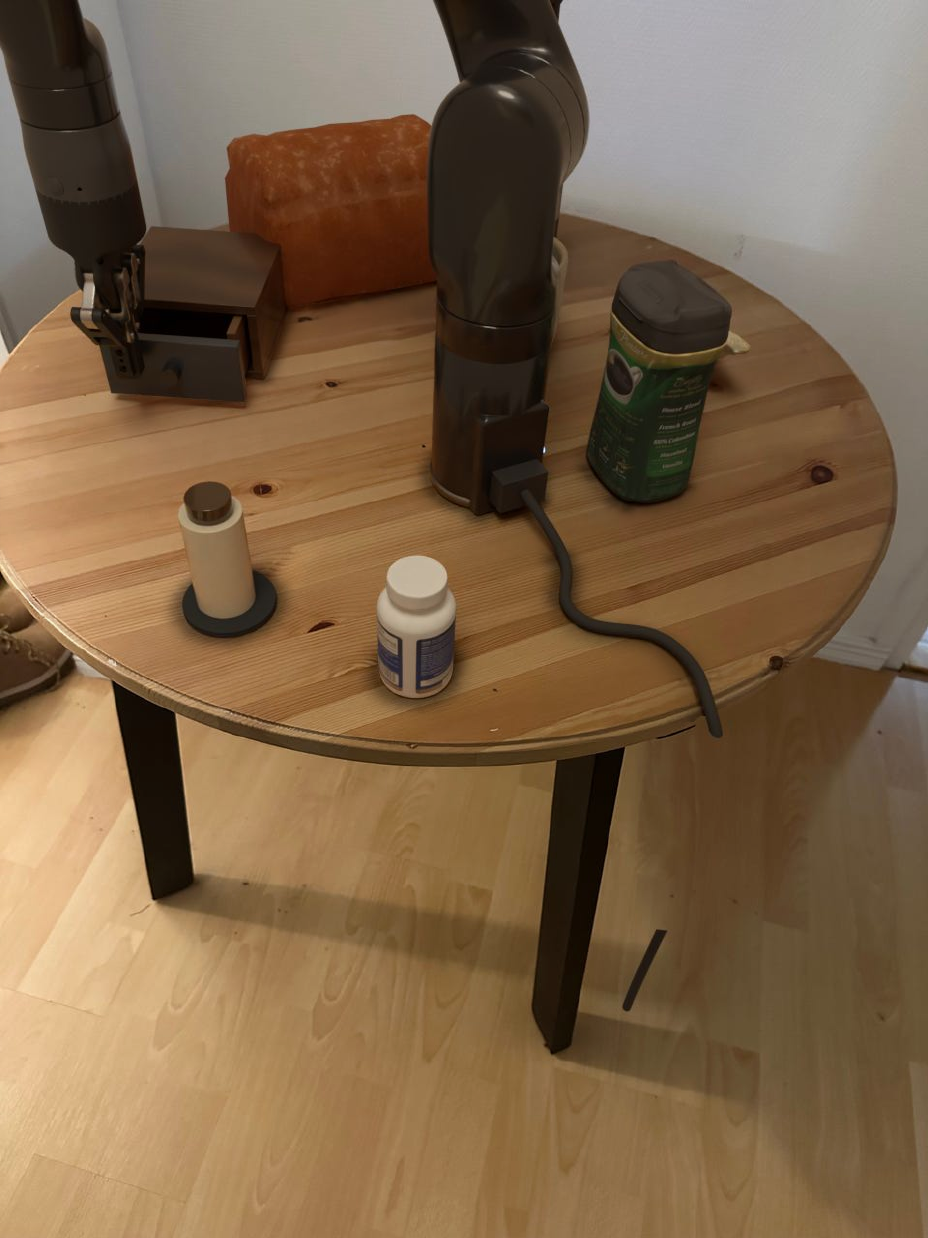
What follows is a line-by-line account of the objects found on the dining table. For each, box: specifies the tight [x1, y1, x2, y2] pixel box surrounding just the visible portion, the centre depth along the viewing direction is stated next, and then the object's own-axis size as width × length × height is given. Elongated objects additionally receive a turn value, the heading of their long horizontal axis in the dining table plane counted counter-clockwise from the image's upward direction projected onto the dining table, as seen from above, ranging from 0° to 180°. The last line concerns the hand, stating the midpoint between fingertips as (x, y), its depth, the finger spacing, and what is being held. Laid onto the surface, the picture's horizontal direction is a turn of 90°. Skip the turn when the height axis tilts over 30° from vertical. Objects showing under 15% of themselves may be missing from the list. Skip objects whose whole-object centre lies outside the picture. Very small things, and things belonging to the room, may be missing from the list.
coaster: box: [181, 569, 278, 639], centre depth 72 cm, size 7×7×1 cm
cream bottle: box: [177, 480, 256, 619], centre depth 69 cm, size 4×4×10 cm
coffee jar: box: [586, 259, 733, 503], centre depth 80 cm, size 10×8×19 cm
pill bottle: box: [376, 555, 457, 699], centre depth 65 cm, size 5×5×10 cm
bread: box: [224, 113, 437, 309], centre depth 105 cm, size 17×24×15 cm
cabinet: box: [138, 225, 290, 381], centre depth 96 cm, size 15×14×8 cm
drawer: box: [98, 308, 252, 404], centre depth 91 cm, size 15×13×6 cm
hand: (131, 373), depth 85 cm, fingers closed
